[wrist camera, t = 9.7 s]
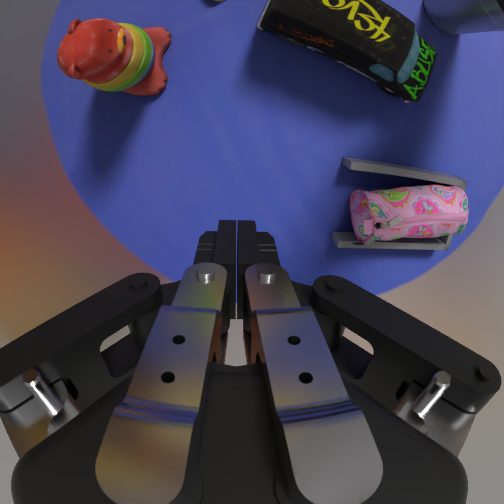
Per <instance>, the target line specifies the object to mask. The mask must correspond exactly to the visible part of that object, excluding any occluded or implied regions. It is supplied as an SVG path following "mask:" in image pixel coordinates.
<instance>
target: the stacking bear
mask: <svg viewBox="0 0 504 504" xmlns="http://www.w3.org/2000/svg"><path fill="white" fill-rule="evenodd" d="M68 31H69V32H68V33H67V34H66V35H65V37H64V38H63V40H62V41H61V43H60V46H59V48H58V52H57V61H58V65H59V67H60V69H61V70H62V71H63V73H65V74H66V75H67V76H69V77H71V78H73V79H82V80H83V81H84V82H85V83H87V84H88V85H90V86H92V87H94V88H96V89H99V90H102V91H108V92H116V91H123V92H125V93H128V94H132V95H140V96H149V95H156V94H159V93H160V92H161V90H162V89H164V88H165V87H166V82H167V80H168V77H167V74H166V73H165V71H164V69H163V65H162V59H163V55H164V52H165V51H166V49H167V48H168V47H169V45H170V43H171V39H170V37H171V33H170V32H168V31H167V30H166V29H165V28H162V27H150V28H145V29H141V28H139V27H138V26H135V25H132V24H127V23H116V22H114V21H112V20H108V19H91V20H87V21H84V22H81V21H80V20H79V19H76V20H74V21H73V22H72V23H71V24H70V25H69V28H68Z"/></svg>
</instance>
